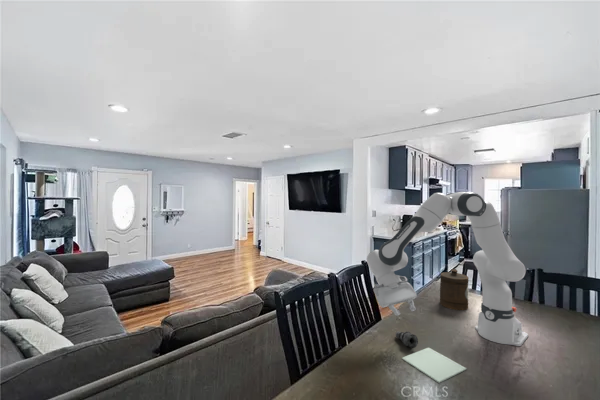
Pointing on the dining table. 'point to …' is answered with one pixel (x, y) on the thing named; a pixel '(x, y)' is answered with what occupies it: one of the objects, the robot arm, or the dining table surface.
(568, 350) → the dining table surface
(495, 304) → the robot arm
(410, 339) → the grey metal vase shape
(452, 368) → the mat
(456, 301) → the wooden container
